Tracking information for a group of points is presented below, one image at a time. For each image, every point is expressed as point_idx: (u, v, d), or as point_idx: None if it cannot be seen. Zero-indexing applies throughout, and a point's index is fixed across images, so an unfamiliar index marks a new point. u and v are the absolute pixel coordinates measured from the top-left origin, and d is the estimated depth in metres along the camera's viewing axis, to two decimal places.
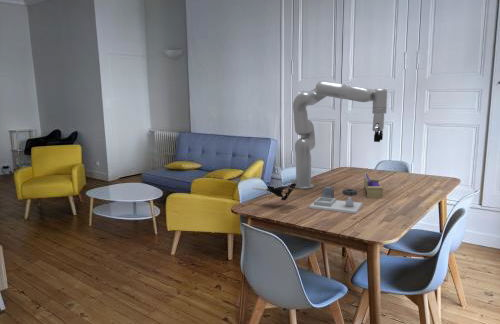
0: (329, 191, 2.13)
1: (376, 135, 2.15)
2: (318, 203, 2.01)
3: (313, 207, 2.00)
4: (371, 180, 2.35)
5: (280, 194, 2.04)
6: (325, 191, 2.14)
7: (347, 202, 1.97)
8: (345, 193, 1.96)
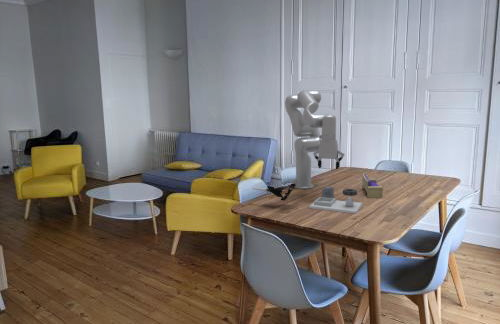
0: (329, 191, 2.13)
1: None
2: (318, 203, 2.01)
3: (313, 207, 2.00)
4: (369, 180, 2.35)
5: (280, 194, 2.04)
6: (325, 191, 2.14)
7: (347, 202, 1.97)
8: (345, 193, 1.96)
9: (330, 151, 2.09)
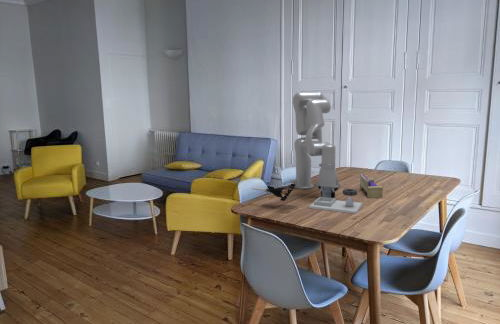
0: (329, 191, 2.13)
1: (334, 192, 2.15)
2: (318, 203, 2.01)
3: (313, 207, 2.00)
4: (367, 180, 2.35)
5: (279, 194, 2.03)
6: (325, 191, 2.14)
7: (347, 202, 1.97)
8: (345, 193, 1.96)
9: (329, 180, 2.12)
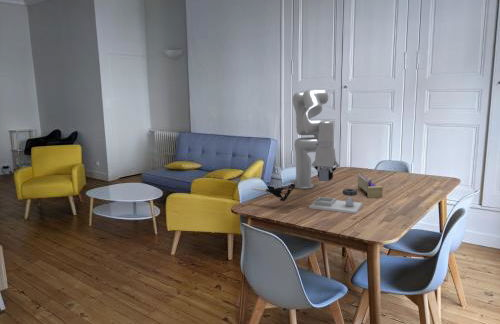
0: (326, 171, 1.98)
1: (332, 172, 2.00)
2: (318, 203, 2.01)
3: (313, 207, 2.00)
4: None
5: (279, 195, 2.03)
6: (322, 171, 1.99)
7: (347, 202, 1.97)
8: (345, 193, 1.96)
9: (327, 159, 1.97)
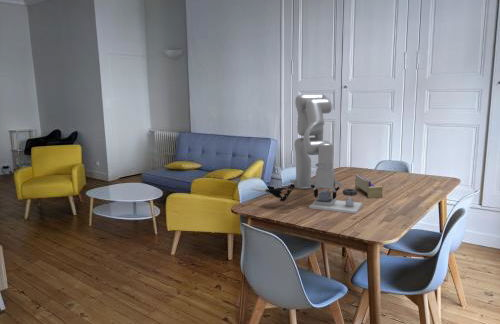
0: (326, 195, 2.01)
1: None
2: (318, 203, 2.01)
3: (313, 207, 2.00)
4: None
5: (279, 195, 2.02)
6: (322, 195, 2.02)
7: (347, 202, 1.97)
8: (345, 193, 1.96)
9: (327, 181, 1.99)
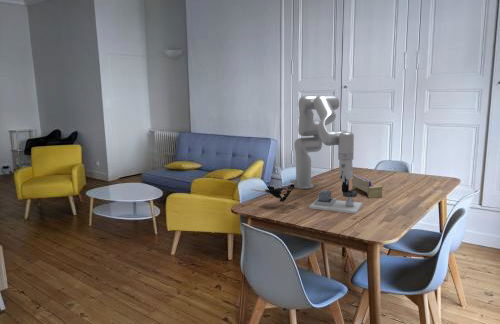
0: (326, 195, 2.01)
1: None
2: (318, 203, 2.01)
3: (313, 207, 2.00)
4: None
5: (279, 195, 2.02)
6: (322, 195, 2.02)
7: (347, 202, 1.97)
8: (345, 195, 1.96)
9: (351, 170, 1.97)
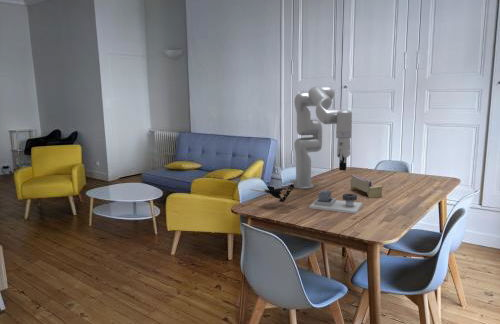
0: (326, 195, 2.01)
1: None
2: (318, 203, 2.01)
3: (313, 207, 2.00)
4: None
5: (278, 196, 2.01)
6: (322, 195, 2.02)
7: (347, 202, 1.97)
8: (345, 198, 1.96)
9: (349, 148, 1.98)
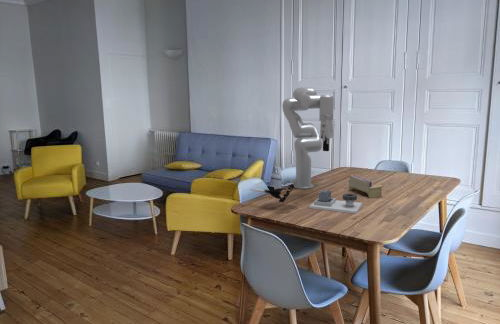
0: (326, 195, 2.01)
1: None
2: (318, 203, 2.01)
3: (313, 207, 2.00)
4: None
5: (278, 196, 2.01)
6: (322, 195, 2.02)
7: (347, 202, 1.97)
8: (345, 198, 1.96)
9: (331, 130, 2.14)
